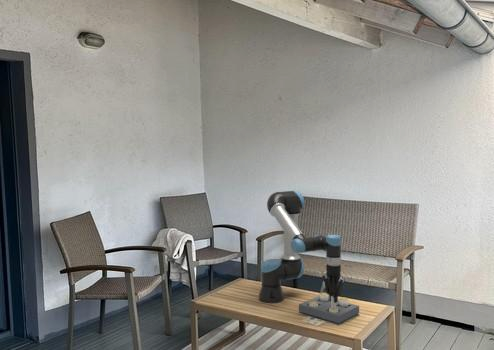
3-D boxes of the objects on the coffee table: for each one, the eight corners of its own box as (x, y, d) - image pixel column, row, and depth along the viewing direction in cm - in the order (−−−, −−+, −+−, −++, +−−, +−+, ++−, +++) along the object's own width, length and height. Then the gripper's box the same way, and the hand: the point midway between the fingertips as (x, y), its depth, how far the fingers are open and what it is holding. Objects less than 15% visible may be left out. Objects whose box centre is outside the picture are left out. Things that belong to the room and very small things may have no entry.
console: (298, 313, 267) (298, 304, 267) (319, 304, 281) (319, 295, 281) (338, 325, 249) (338, 315, 249) (359, 314, 263) (359, 305, 263)
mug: (334, 307, 276) (334, 286, 275) (317, 302, 284) (316, 282, 283) (341, 303, 282) (341, 283, 281) (324, 299, 290) (324, 279, 289)
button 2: (318, 302, 273) (318, 293, 273) (323, 300, 277) (323, 291, 276) (325, 304, 270) (325, 295, 269) (330, 302, 273) (330, 293, 273)
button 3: (327, 318, 257) (327, 308, 257) (332, 315, 261) (332, 306, 260) (334, 320, 254) (334, 310, 253) (339, 317, 257) (339, 308, 257)
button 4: (337, 308, 264) (337, 298, 264) (342, 306, 268) (342, 296, 267) (345, 310, 261) (345, 300, 260) (350, 308, 264) (350, 298, 264)
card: (302, 321, 255) (302, 320, 255) (310, 317, 260) (310, 316, 260) (317, 326, 248) (317, 324, 248) (325, 322, 253) (325, 321, 253)
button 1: (307, 312, 266) (307, 302, 266) (312, 309, 270) (312, 300, 269) (314, 314, 263) (314, 304, 262) (319, 311, 266) (319, 302, 266)
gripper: (319, 263, 257) (319, 307, 259) (340, 267, 248) (340, 312, 249) (327, 261, 262) (327, 303, 264) (348, 265, 253) (348, 309, 255)
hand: (333, 308), depth 257 cm, fingers closed
